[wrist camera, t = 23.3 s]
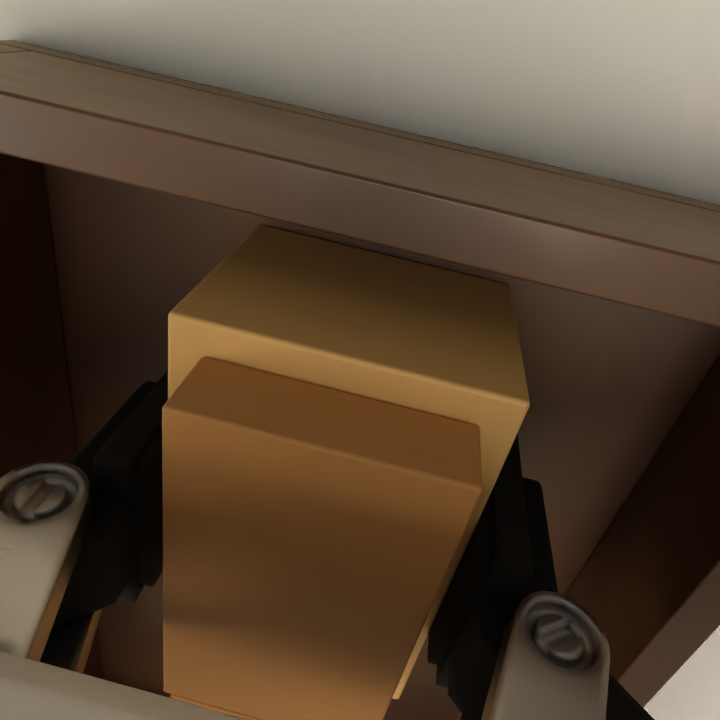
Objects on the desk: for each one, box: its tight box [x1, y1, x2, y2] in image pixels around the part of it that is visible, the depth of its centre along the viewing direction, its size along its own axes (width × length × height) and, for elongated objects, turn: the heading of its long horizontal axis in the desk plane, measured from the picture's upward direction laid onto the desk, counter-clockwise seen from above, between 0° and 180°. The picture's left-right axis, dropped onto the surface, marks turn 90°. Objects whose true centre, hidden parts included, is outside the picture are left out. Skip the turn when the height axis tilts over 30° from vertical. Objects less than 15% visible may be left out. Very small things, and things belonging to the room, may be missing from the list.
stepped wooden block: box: [162, 225, 530, 720], centre depth 10 cm, size 5×8×5 cm, turn 169°
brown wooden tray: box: [0, 40, 720, 720], centre depth 14 cm, size 15×22×4 cm
